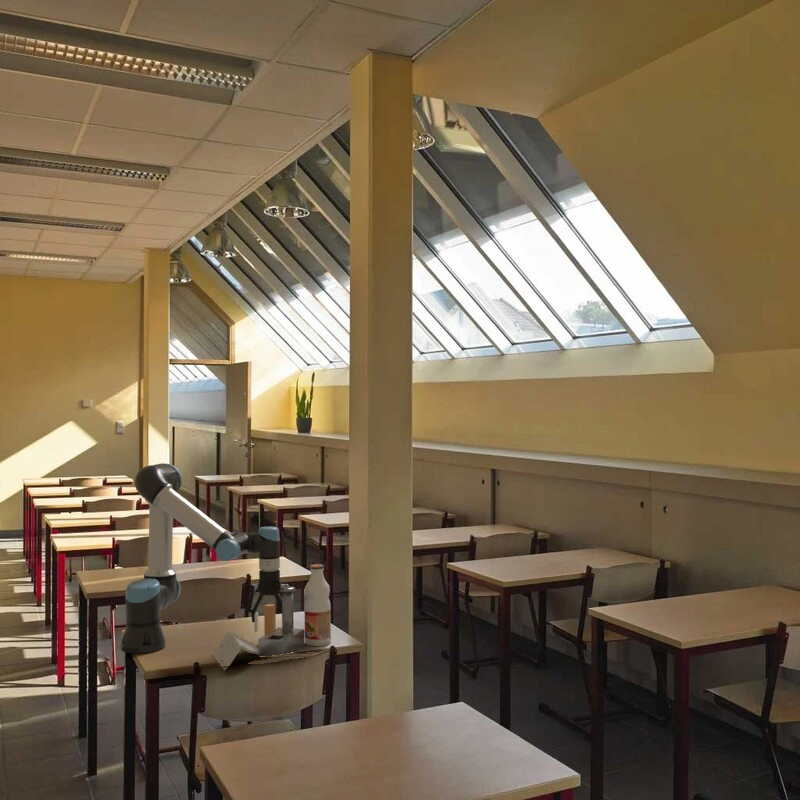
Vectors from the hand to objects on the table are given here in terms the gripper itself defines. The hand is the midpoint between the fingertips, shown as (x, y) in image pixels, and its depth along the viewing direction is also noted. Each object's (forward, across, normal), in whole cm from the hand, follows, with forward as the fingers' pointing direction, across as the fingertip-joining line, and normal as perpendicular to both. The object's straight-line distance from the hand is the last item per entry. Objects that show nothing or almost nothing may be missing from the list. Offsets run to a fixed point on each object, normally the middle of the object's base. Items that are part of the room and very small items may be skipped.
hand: (270, 630), depth 301 cm
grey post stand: (+4, +7, -13) cm, 15 cm away
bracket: (+4, -5, -23) cm, 24 cm away
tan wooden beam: (+4, 0, 0) cm, 4 cm away
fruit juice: (+4, +18, -3) cm, 19 cm away
